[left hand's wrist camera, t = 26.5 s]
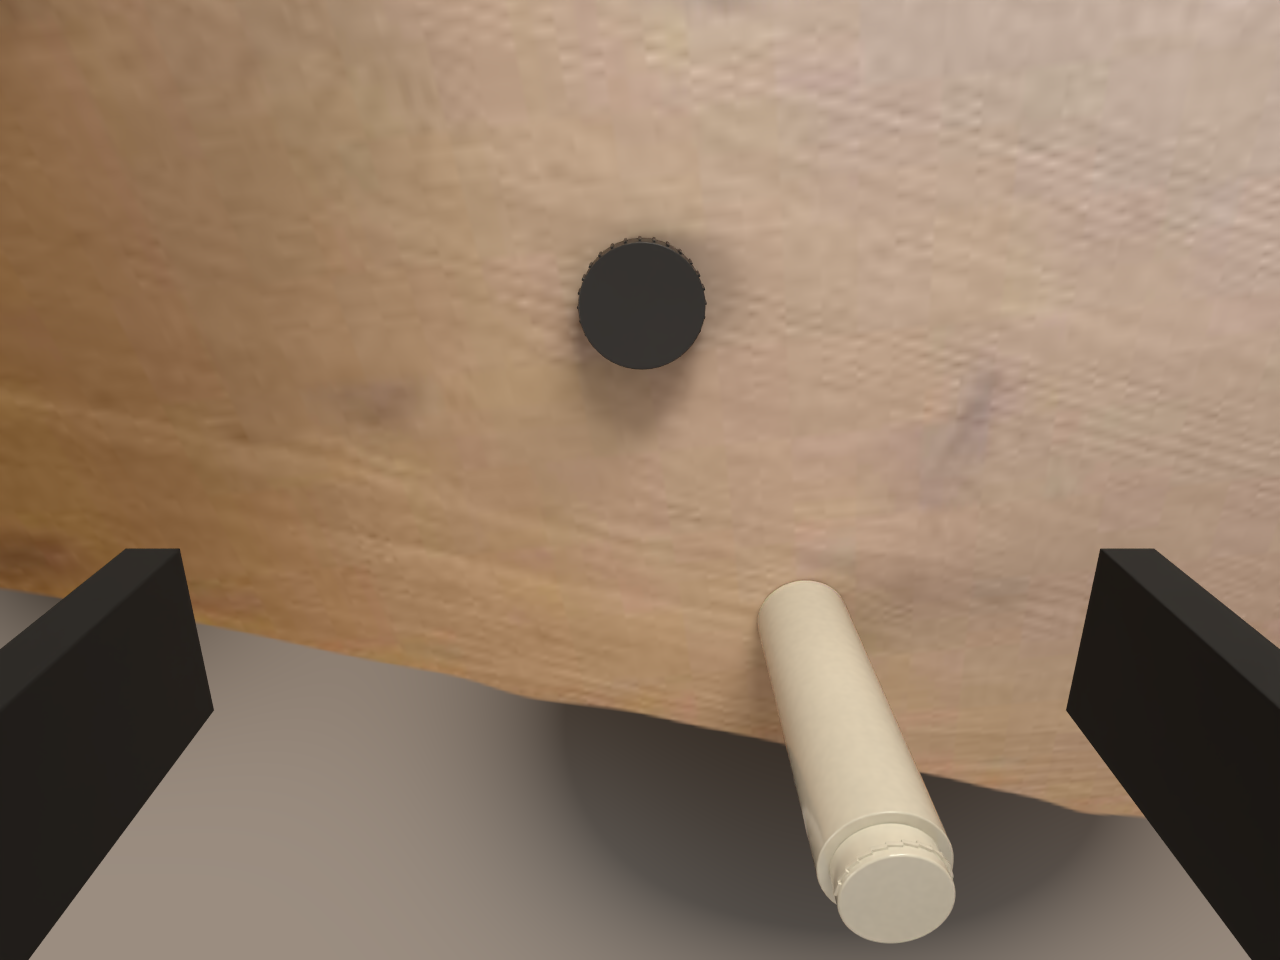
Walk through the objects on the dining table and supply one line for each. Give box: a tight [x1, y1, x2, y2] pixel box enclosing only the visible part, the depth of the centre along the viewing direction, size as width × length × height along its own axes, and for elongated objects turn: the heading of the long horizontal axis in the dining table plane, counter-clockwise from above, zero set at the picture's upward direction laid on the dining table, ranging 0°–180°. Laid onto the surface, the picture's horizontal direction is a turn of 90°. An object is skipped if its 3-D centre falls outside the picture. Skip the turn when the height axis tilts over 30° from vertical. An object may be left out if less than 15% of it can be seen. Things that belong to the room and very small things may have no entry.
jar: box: [757, 580, 955, 943], centre depth 38 cm, size 5×5×18 cm
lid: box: [577, 236, 707, 369], centre depth 39 cm, size 6×6×2 cm
